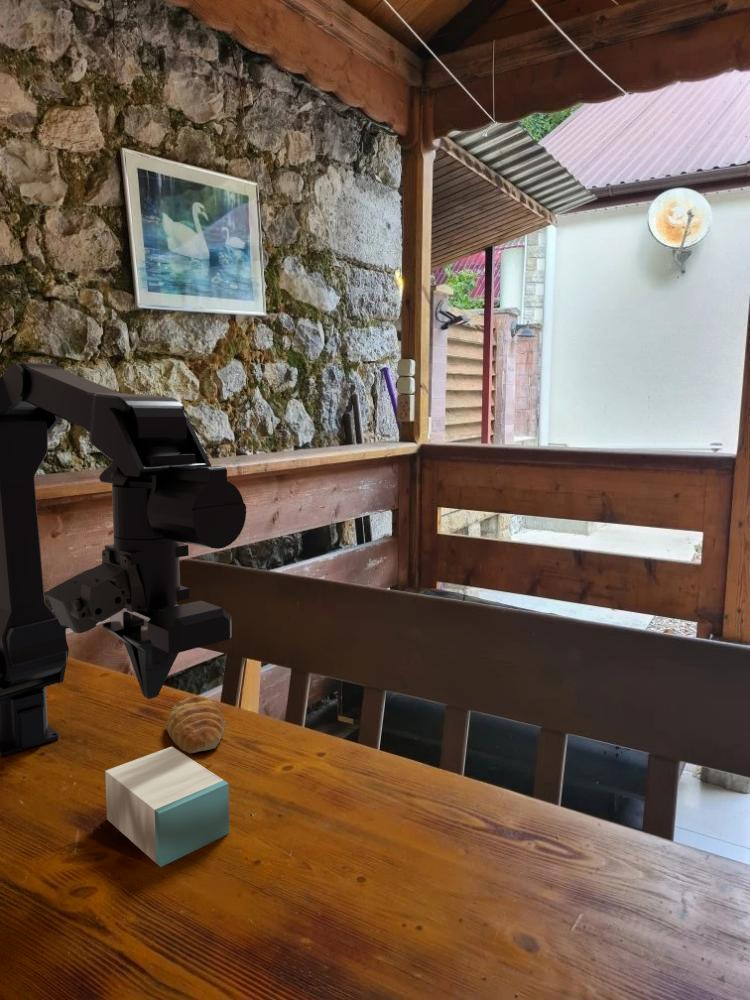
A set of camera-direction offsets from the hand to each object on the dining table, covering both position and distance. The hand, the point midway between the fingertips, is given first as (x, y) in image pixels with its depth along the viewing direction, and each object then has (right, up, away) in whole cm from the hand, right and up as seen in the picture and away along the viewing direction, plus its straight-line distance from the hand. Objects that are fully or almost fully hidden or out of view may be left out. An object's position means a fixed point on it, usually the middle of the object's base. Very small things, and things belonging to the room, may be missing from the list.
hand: (150, 697), depth 67 cm
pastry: (0, -10, +19) cm, 21 cm away
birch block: (-2, -9, +3) cm, 10 cm away
